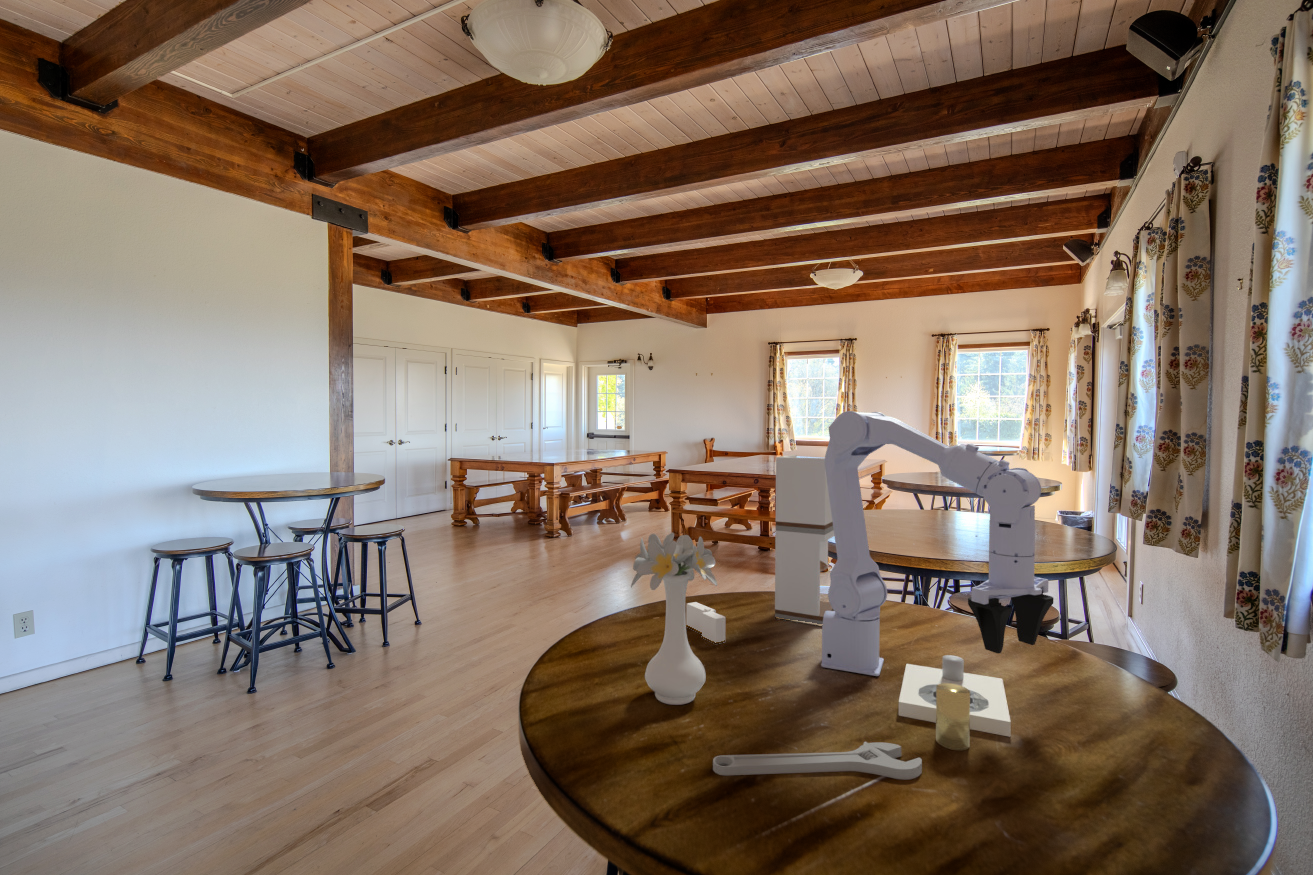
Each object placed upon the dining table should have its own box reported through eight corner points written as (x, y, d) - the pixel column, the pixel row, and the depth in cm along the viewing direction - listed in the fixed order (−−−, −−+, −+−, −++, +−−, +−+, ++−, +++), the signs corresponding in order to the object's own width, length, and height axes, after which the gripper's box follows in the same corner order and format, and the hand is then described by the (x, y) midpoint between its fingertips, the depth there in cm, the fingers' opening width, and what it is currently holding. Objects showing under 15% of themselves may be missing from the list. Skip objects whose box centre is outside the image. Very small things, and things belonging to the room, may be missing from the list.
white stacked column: (823, 626, 129) (825, 458, 128) (774, 618, 134) (776, 457, 134) (838, 612, 138) (839, 456, 138) (791, 605, 144) (792, 455, 143)
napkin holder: (678, 624, 131) (678, 597, 131) (732, 626, 130) (732, 599, 130) (672, 649, 117) (672, 619, 116) (733, 652, 115) (733, 621, 115)
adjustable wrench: (713, 780, 73) (713, 765, 73) (710, 752, 80) (710, 738, 80) (927, 782, 73) (927, 767, 73) (906, 754, 79) (906, 740, 79)
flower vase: (706, 670, 105) (707, 523, 105) (723, 722, 87) (724, 544, 86) (629, 671, 104) (630, 524, 104) (630, 724, 86) (631, 544, 86)
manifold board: (898, 715, 89) (898, 680, 89) (906, 675, 103) (906, 645, 103) (1010, 736, 83) (1011, 699, 83) (1002, 691, 97) (1002, 659, 97)
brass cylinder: (935, 745, 80) (935, 692, 80) (936, 732, 84) (936, 681, 84) (969, 752, 79) (970, 698, 79) (969, 738, 82) (969, 686, 82)
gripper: (1005, 563, 82) (1004, 664, 83) (1070, 553, 89) (1069, 647, 89) (958, 553, 89) (957, 647, 89) (1022, 545, 95) (1021, 633, 95)
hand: (1010, 646), depth 89 cm, fingers open, 7 cm apart
